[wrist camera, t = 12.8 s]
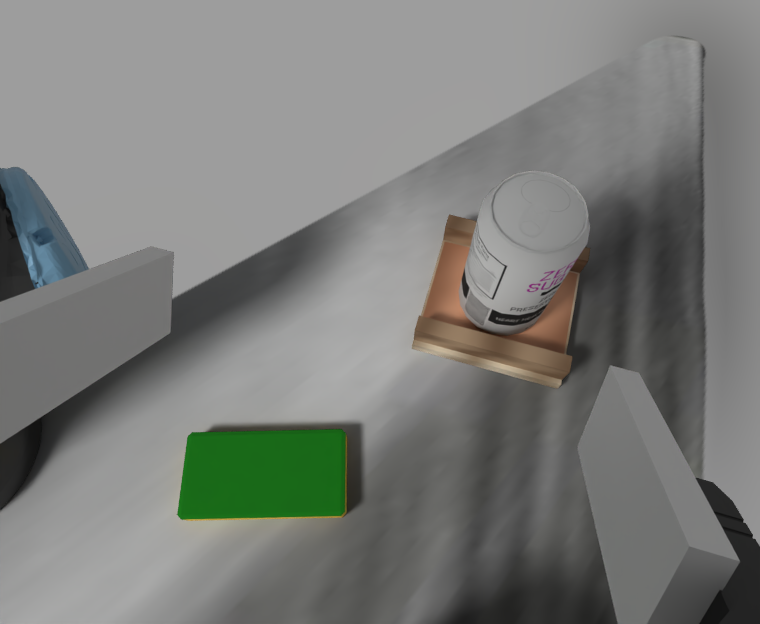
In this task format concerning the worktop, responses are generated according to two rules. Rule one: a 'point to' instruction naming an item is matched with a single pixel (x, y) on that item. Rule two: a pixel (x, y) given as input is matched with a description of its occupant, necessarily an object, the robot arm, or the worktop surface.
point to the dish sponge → (264, 475)
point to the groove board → (480, 348)
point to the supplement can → (522, 250)
